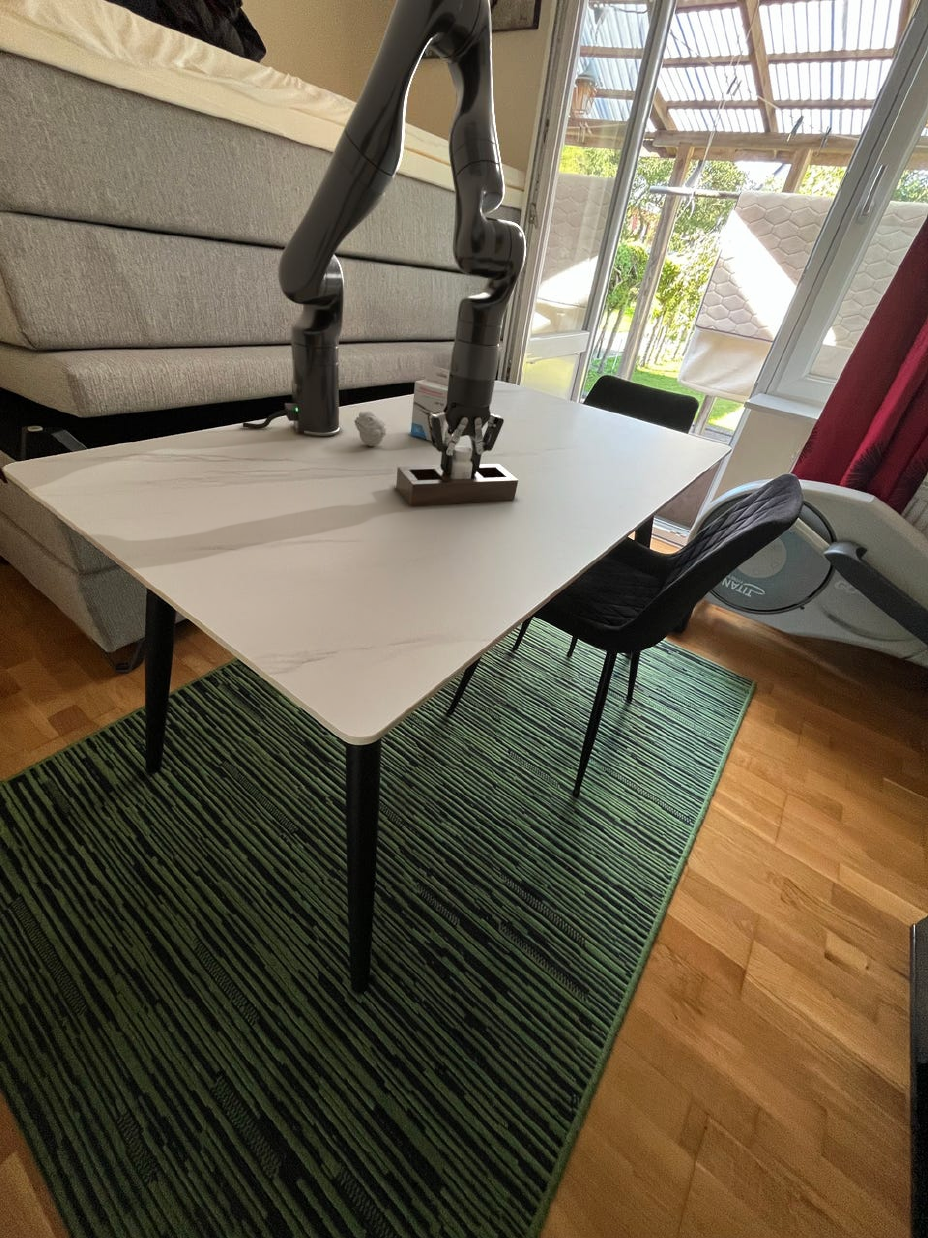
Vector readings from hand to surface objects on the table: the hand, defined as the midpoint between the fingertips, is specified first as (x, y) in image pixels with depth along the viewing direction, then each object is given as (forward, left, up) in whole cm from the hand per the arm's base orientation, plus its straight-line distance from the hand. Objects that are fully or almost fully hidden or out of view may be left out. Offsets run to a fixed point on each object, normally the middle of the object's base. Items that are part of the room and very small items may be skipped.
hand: (459, 472), depth 94 cm
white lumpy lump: (-9, +26, -4) cm, 28 cm away
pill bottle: (0, 0, -4) cm, 4 cm away
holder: (0, 0, -4) cm, 4 cm away
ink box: (+7, +31, -4) cm, 32 cm away
